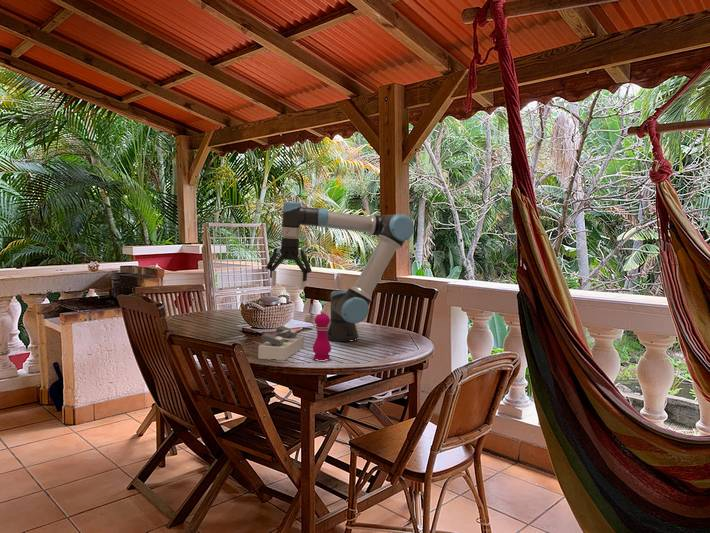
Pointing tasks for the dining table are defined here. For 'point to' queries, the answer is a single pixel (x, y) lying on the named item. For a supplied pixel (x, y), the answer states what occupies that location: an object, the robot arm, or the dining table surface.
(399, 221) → the robot arm
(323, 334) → the pepper mill
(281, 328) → the rocker
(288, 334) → the rocker
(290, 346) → the power strip
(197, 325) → the dining table surface
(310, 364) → the dining table surface
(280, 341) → the rocker
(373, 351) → the dining table surface
